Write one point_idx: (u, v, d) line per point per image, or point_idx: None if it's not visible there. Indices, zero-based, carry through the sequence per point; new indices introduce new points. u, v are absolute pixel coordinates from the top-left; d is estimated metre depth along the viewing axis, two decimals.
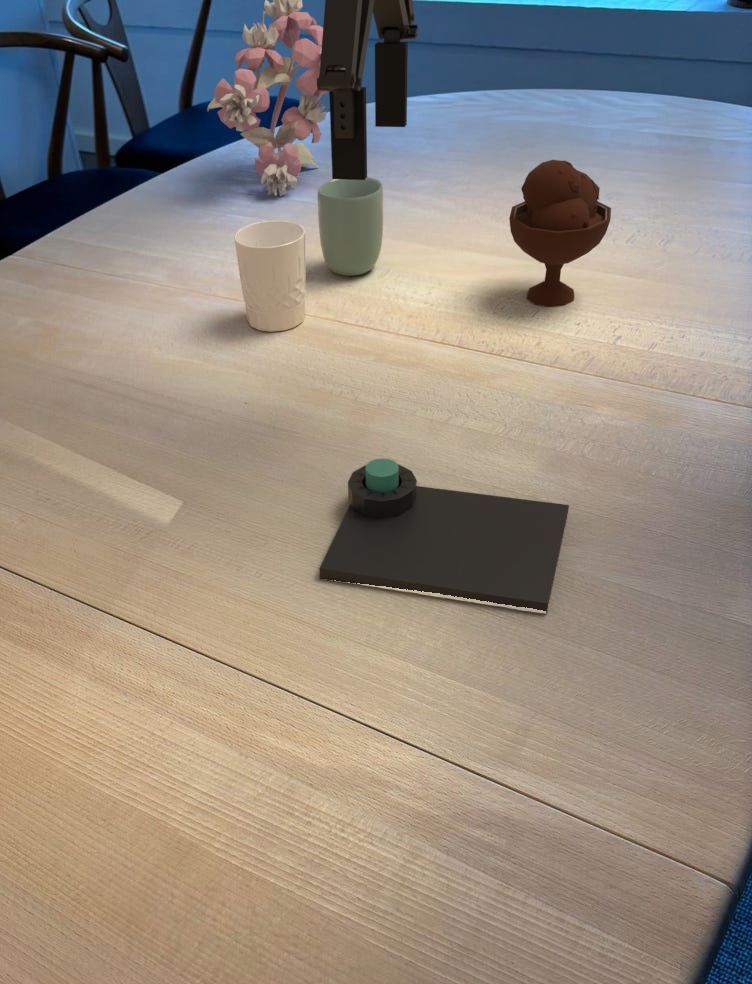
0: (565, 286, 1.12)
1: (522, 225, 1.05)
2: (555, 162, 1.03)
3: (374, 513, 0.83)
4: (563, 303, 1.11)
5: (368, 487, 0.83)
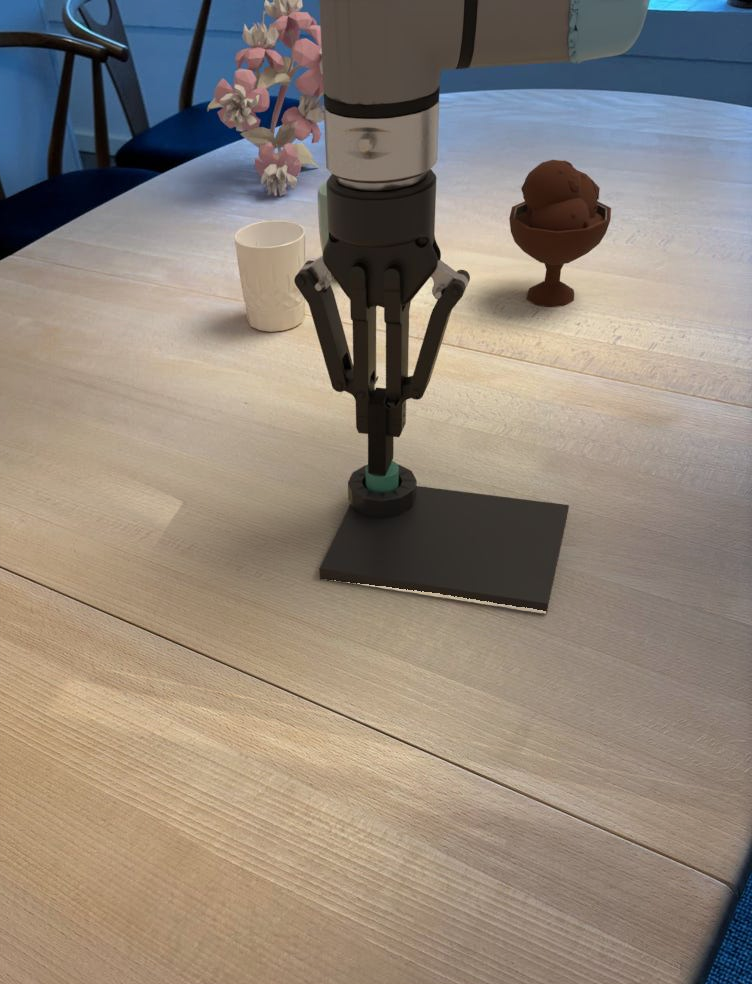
0: (565, 286, 1.12)
1: (522, 225, 1.05)
2: (555, 162, 1.03)
3: (374, 513, 0.83)
4: (563, 303, 1.11)
5: (368, 487, 0.83)
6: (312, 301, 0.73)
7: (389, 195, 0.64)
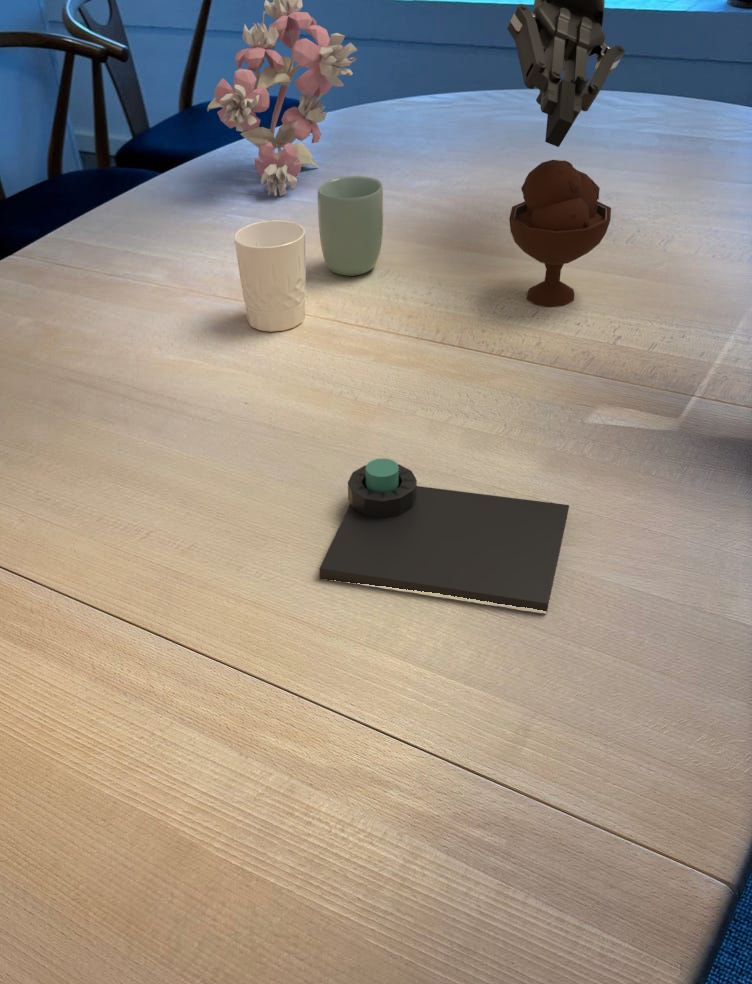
0: (565, 286, 1.12)
1: (522, 225, 1.05)
2: (555, 162, 1.03)
3: (374, 513, 0.83)
4: (563, 303, 1.11)
5: (368, 487, 0.83)
6: None
7: None
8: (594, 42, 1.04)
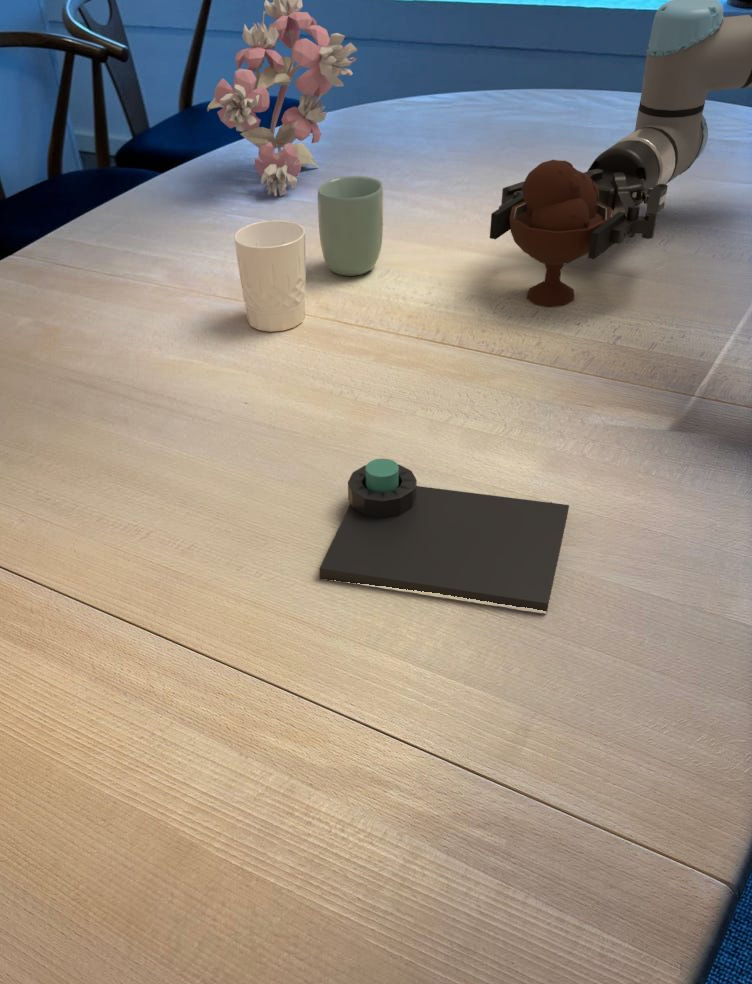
0: (565, 286, 1.12)
1: (522, 225, 1.05)
2: (555, 162, 1.03)
3: (374, 513, 0.83)
4: (563, 303, 1.11)
5: (368, 487, 0.83)
6: None
7: None
8: None
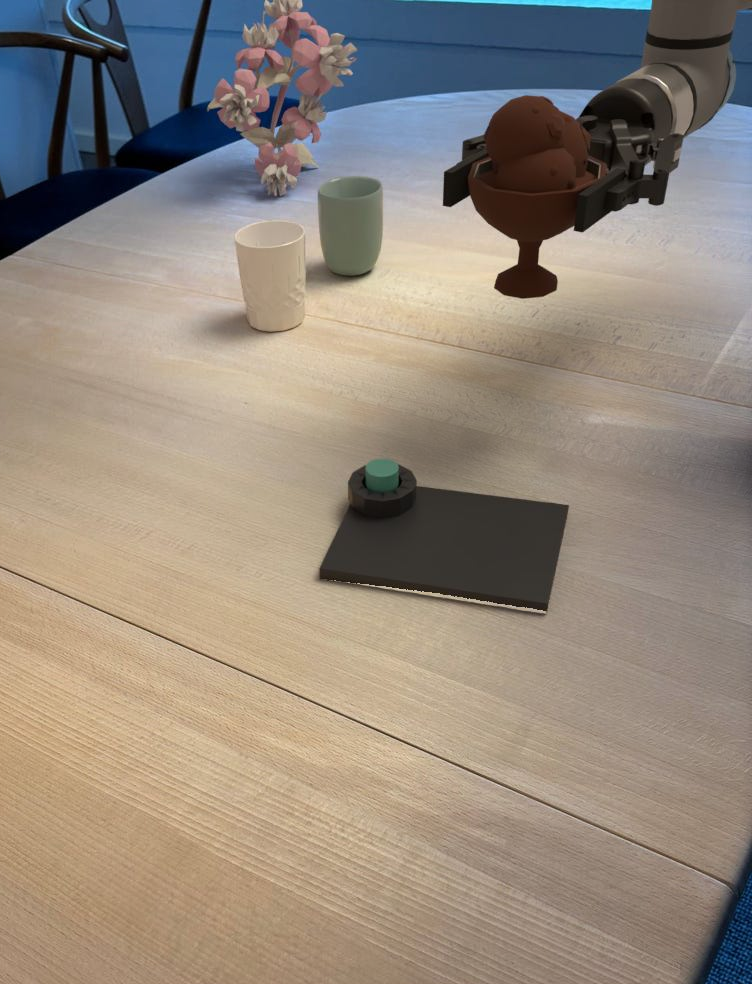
0: (545, 271, 0.84)
1: (484, 186, 0.77)
2: (529, 98, 0.74)
3: (374, 513, 0.83)
4: (542, 294, 0.83)
5: (368, 487, 0.83)
6: None
7: None
8: None
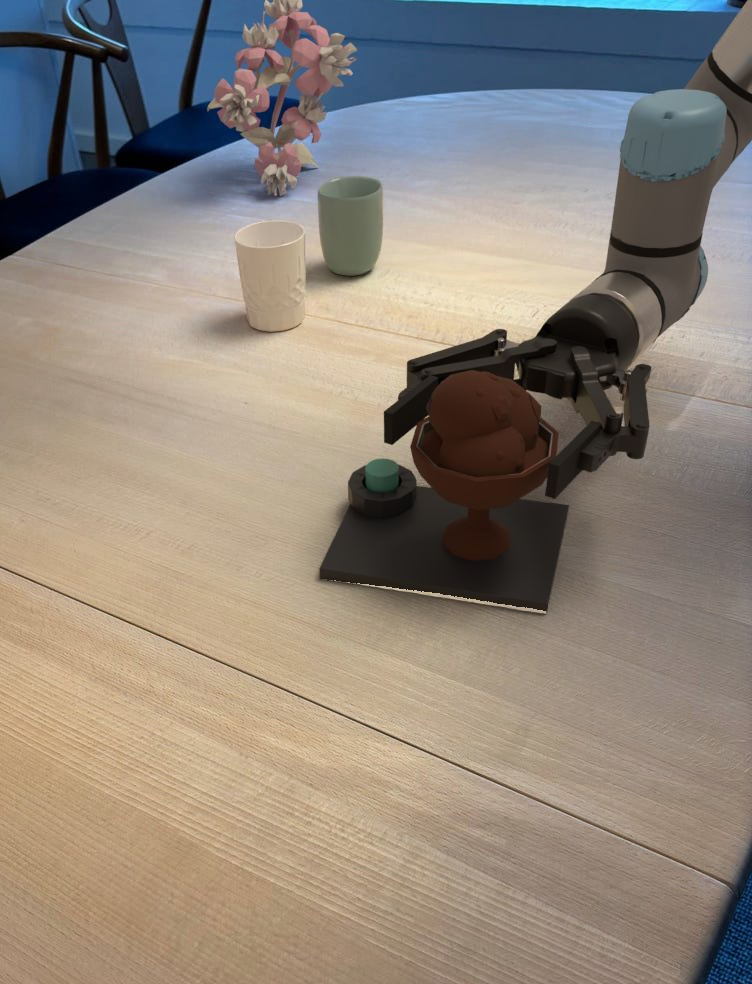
0: (496, 529, 0.78)
1: (427, 462, 0.72)
2: (473, 377, 0.69)
3: (374, 513, 0.83)
4: (493, 556, 0.78)
5: (368, 487, 0.83)
6: None
7: None
8: None
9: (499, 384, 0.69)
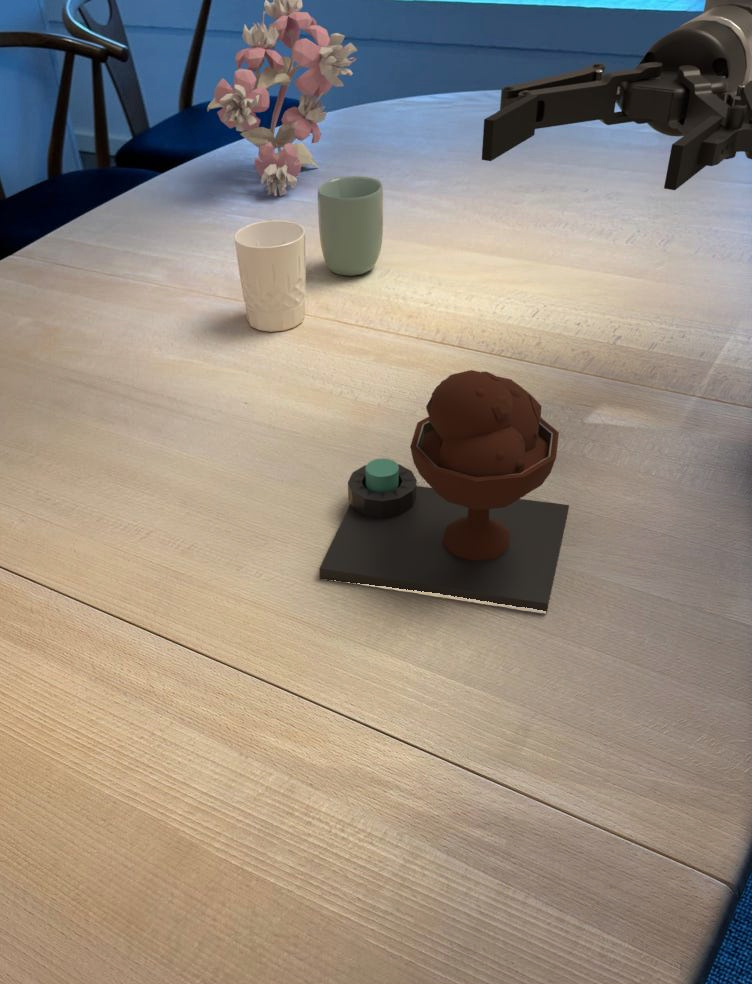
0: (496, 529, 0.78)
1: (427, 462, 0.72)
2: (473, 377, 0.69)
3: (374, 513, 0.83)
4: (493, 556, 0.78)
5: (368, 487, 0.83)
6: None
7: None
8: None
9: (499, 384, 0.69)
